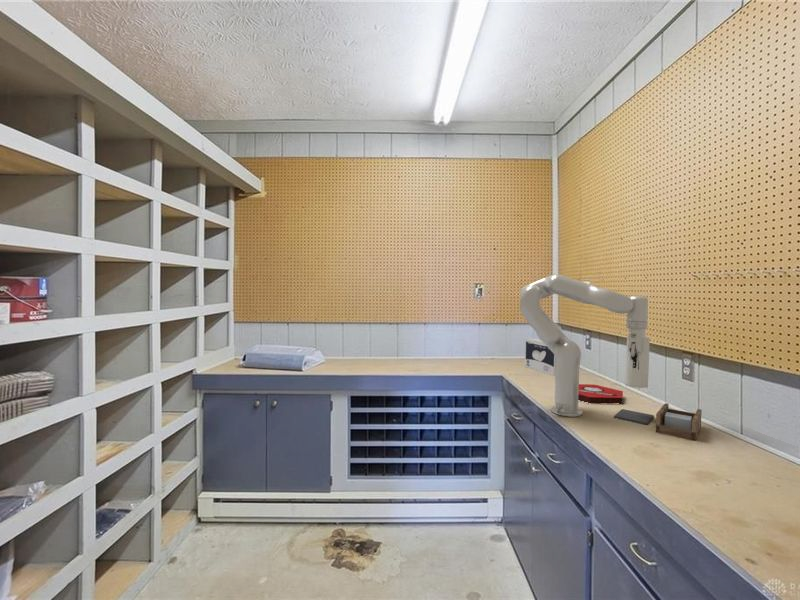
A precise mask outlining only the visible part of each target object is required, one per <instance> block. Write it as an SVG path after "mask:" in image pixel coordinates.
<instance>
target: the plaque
mask: <svg viewBox="0 0 800 600" xmlns="http://www.w3.org/2000/svg"><path fill="white" fill-rule="evenodd" d="M623 392H624V391H623V390H619V389H615V388H611V387H606V386H603V385H599V384H590V383H589V384H588V383H587V384H585V383H584V384H583V383H579V398H578V400H580V401H579V402H582V401H584V402H583V403H585V402H588V403H587V404H589V403H619V404H618V405H623V399H622V398H623V396H624V394H623Z"/></svg>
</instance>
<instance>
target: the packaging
mask: <svg viewBox="0 0 800 600" xmlns="http://www.w3.org/2000/svg"><path fill="white" fill-rule="evenodd" d="M524 343H525V347H524V348H525V349H524V352H525V353H524V367H525V368H528V369H531V370H535V371H538V372H541V373H544V374H547V375H550V376H553V375H554V377H555V369H556V360H557V356H556V355H555V354H554V353H553V352H552V351H551V350H550V349H549V348H548V347H547V346H546V345H545V344H544V343H543V342H542V341H541V339H540V338H539V339H537V338H531V337H530V338H528V337H526V338H525V341H524Z"/></svg>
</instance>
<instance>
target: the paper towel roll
mask: <svg viewBox="0 0 800 600" xmlns="http://www.w3.org/2000/svg"><path fill="white" fill-rule="evenodd" d="M628 336H629V335H627V336H626V355H625V361H626V362H625V380H624V381H625V382H624V383H625V384H624V385H625V386H626V387H629V388H634V389H635V388H639V389H640V388H641V389H643V388H644V389H646V388H647V389H648V388H649V370H650V368H649V367H650V341H651V337H646V338H644V341H643V345H644V346H643V353H640V352H639V353H638V361H639V370H638V361H637V364H636V368H633V366H635V365H633V363H635V362H633V360H630V356H631V348H630V352H629V351H628ZM635 353H637V351H635ZM636 355H637V354H636Z"/></svg>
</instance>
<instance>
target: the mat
mask: <svg viewBox="0 0 800 600" xmlns="http://www.w3.org/2000/svg"><path fill="white" fill-rule="evenodd" d="M654 416H655V415H654V414H649V413H644V412H639V411H634V410H629V409H624V408H621V409H620V410H619V411H618V412H617V413H616V414H614V415H613V419H616V418H618V420H621V419H622V421H625V420H627V421H626V422H630V421H631V423H636V424H641V425H644V426H647V425H648V424H650V422H651V421H652V419H654Z"/></svg>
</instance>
